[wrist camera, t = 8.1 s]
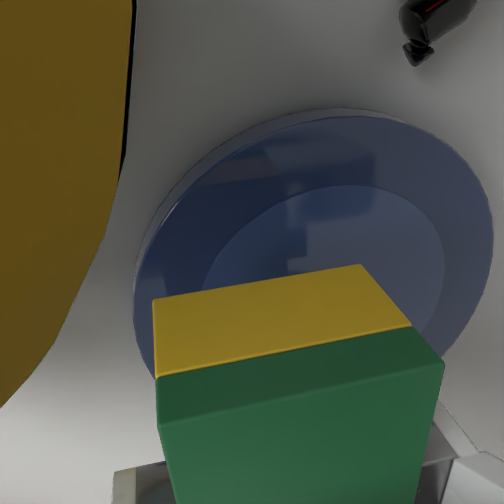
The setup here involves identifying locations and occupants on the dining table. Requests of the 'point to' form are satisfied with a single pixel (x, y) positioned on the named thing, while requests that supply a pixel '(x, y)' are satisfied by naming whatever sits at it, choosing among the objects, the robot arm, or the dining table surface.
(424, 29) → the wireless earbuds
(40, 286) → the bottle
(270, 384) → the sponge
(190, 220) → the plate
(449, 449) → the robot arm
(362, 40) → the dining table surface
